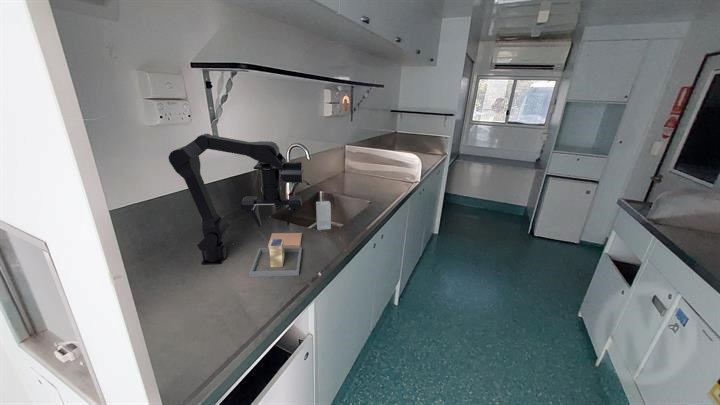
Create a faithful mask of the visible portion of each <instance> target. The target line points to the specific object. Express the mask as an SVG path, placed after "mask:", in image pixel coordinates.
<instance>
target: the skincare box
mask: <svg viewBox="0 0 720 405" xmlns="http://www.w3.org/2000/svg"><path fill="white" fill-rule="evenodd" d="M315 207H316V208H315V212H316V213H315V214H316V228H317V230H318V231H321V230H331V229H332V209H331V208H332V204H331V202H330V201H329V200H323V201H316V202H315Z"/></svg>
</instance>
